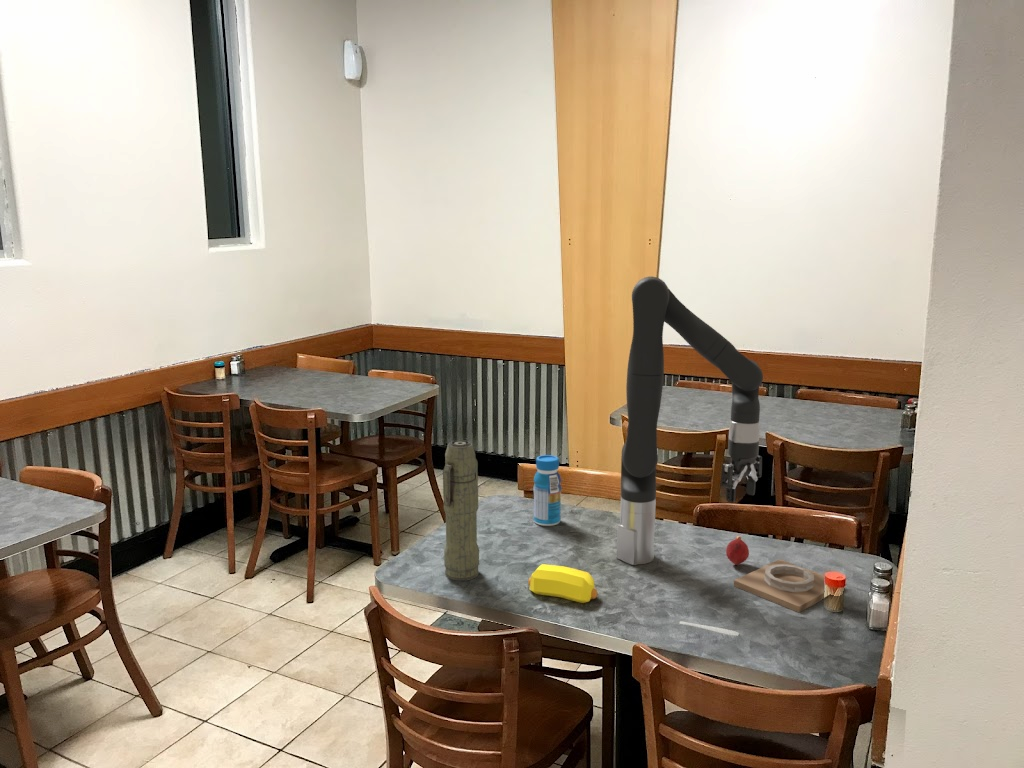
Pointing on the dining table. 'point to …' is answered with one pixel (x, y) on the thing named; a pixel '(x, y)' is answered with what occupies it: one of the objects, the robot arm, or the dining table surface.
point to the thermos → (461, 511)
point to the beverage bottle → (547, 491)
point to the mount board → (779, 595)
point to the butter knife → (713, 629)
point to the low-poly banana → (563, 583)
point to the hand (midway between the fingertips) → (740, 498)
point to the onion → (737, 551)
